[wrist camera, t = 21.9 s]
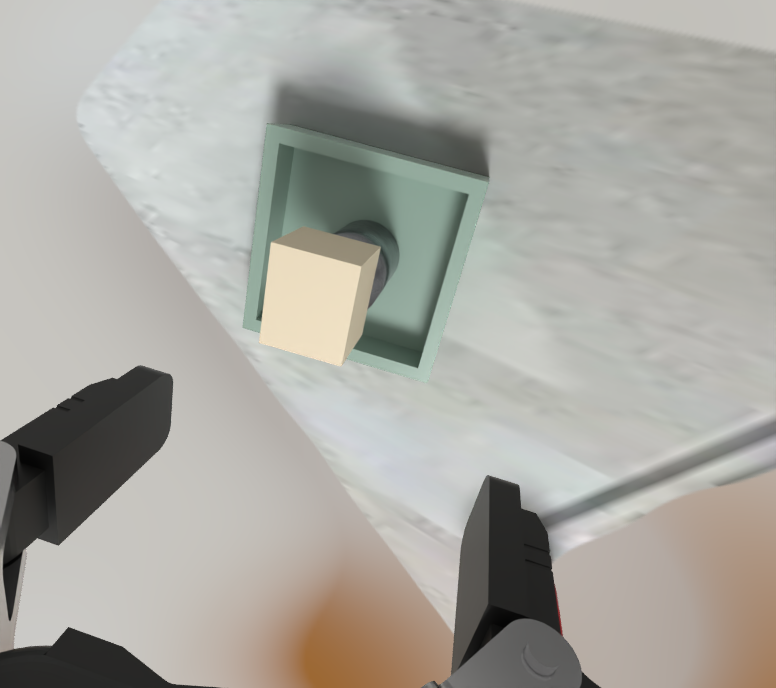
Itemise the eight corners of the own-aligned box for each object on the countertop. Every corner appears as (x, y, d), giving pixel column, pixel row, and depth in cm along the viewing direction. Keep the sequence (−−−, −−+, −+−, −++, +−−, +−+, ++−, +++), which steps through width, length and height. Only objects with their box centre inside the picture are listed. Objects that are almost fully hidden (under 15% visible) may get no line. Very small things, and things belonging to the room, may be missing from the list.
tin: (397, 218, 37) (377, 236, 30) (401, 287, 39) (383, 317, 32) (329, 221, 38) (296, 238, 31) (336, 287, 40) (306, 317, 33)
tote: (489, 177, 35) (489, 182, 32) (433, 361, 42) (427, 383, 38) (289, 124, 37) (266, 123, 33) (263, 311, 43) (242, 327, 39)
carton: (380, 246, 31) (361, 266, 26) (362, 334, 33) (341, 366, 29) (303, 226, 31) (271, 242, 27) (290, 314, 34) (259, 342, 29)
